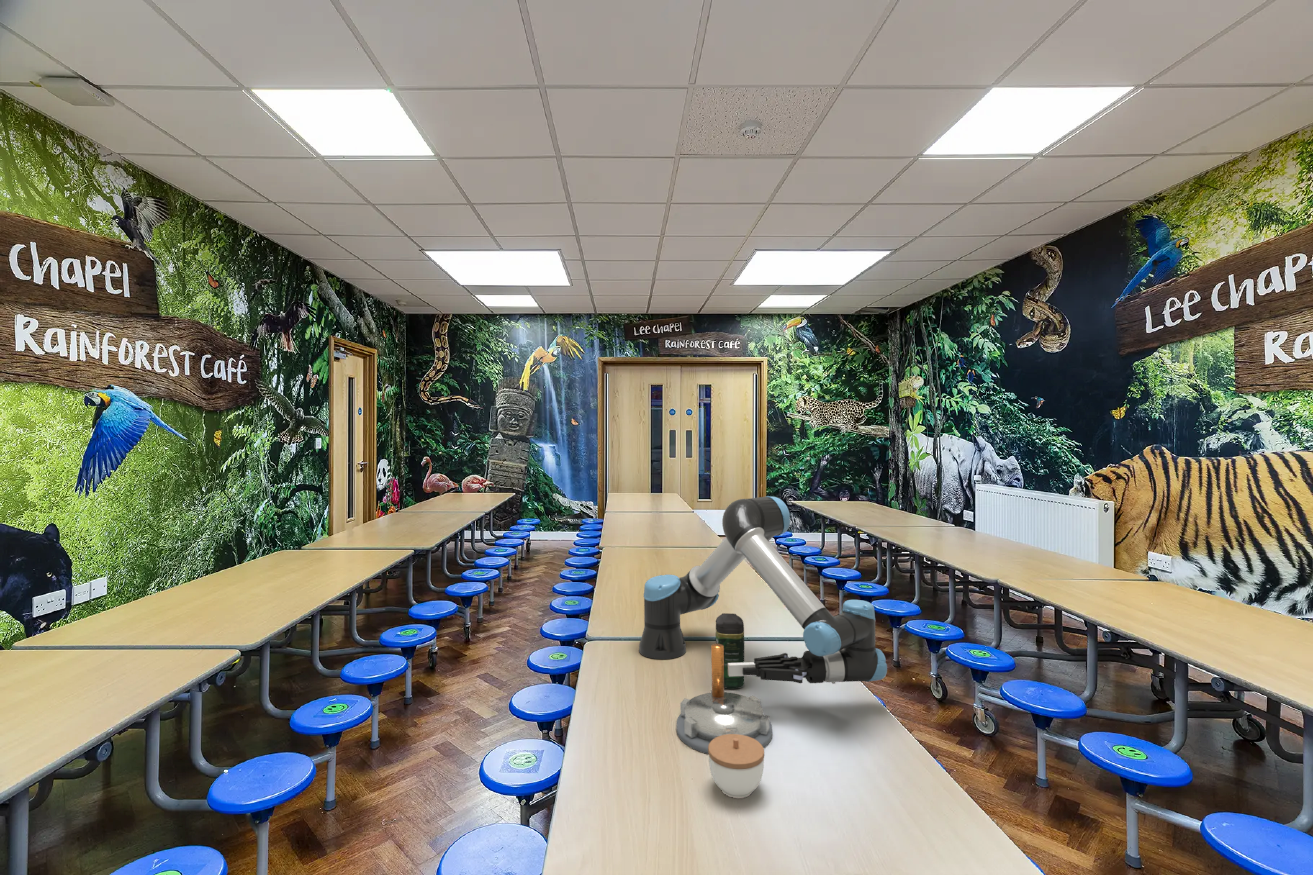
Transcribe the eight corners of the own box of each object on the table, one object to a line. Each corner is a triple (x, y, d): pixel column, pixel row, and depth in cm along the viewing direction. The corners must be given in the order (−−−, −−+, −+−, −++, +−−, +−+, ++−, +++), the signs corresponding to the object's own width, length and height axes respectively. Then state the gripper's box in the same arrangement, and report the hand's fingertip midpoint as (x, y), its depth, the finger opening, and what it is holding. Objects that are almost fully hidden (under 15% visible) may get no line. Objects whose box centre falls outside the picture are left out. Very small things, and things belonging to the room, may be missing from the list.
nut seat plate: (657, 726, 130) (657, 719, 130) (723, 699, 144) (723, 693, 144) (724, 768, 113) (724, 760, 113) (792, 733, 127) (792, 725, 127)
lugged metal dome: (777, 744, 119) (776, 673, 119) (687, 748, 117) (687, 677, 118) (753, 700, 139) (753, 640, 140) (677, 703, 138) (677, 642, 138)
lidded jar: (726, 812, 99) (726, 759, 99) (698, 780, 109) (698, 732, 109) (776, 797, 104) (775, 746, 104) (745, 767, 113) (744, 721, 114)
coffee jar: (746, 690, 149) (745, 621, 149) (716, 690, 149) (716, 621, 150) (742, 675, 159) (742, 610, 159) (715, 675, 159) (714, 610, 160)
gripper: (832, 692, 131) (734, 696, 130) (812, 670, 144) (723, 674, 143) (831, 661, 131) (733, 664, 130) (812, 641, 144) (723, 644, 143)
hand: (728, 669), depth 136 cm, fingers closed
